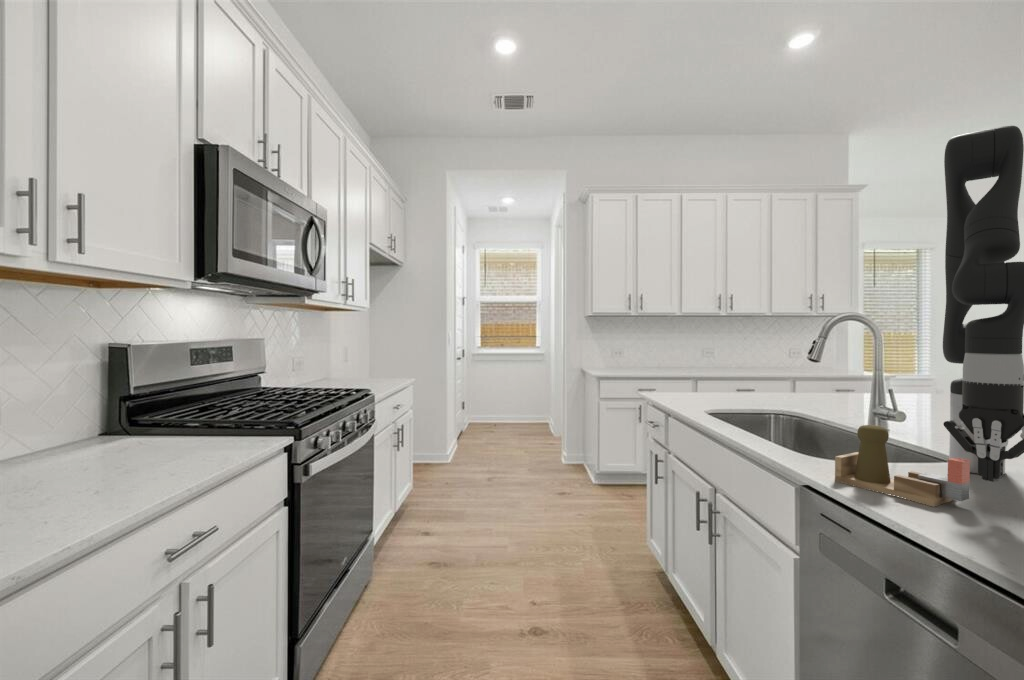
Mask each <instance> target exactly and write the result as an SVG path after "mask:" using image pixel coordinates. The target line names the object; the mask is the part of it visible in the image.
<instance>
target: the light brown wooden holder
mask: <svg viewBox="0 0 1024 680" xmlns="http://www.w3.org/2000/svg"><path fill="white" fill-rule="evenodd" d="M858 453H859V451H855V452H851V453H850V452H849V453H847V454H846V453H845V454H841V455H835V456H834V458H835V460H834V481H835V482H837V483H841V484H845V485H849V486H852V485H854V487H856V486H858V487H857V488H860V487H861V489H864V488H866V489H865V490H868V489H870V490H869V491H871V490H874V491H873V492H875V491H878V492H877V493H879V492H883V493H887V494H891V495H895V496H899V497H903V498H906V499H909V500H908V501H910V500H912V501H911V502H913V501H916V502H915V503H917V502H919V503H918V504H921V503H922V505H925V504H926V506H929V507H937V506H940V505H943V504H945V503H949V502H952V501H954V500H953V499H949V498H945V497H941V496H939V493H940V484H937V483H932V482H928V481H924V480H919V479H918V475H919V474H923V473H922V472H919V471H915V470H914V471H913V470H911V471H908V474H907V476H905V475H901V474H896V475H893V478H891V477H890V481H891V482H890V483H887V484H878V483H870V482H865V481H862V480H858V479H856V478H855V477H854V476H855V470H856V465H857V459H858ZM883 493H882V494H883ZM887 494H886V495H887ZM891 495H890V496H891ZM906 499H905V500H906Z"/></svg>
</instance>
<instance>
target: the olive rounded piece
mask: <svg viewBox="0 0 1024 680" xmlns="http://www.w3.org/2000/svg"><path fill="white" fill-rule="evenodd" d="M889 435H890V434H889V431H888V429H886V428H885V427H883V426H879V425H875V424H865V425H864V424H863V425H861V426H859V427H858V429H857V438H858V439H859V441H860V442H859V449H858V452H859V453H858V459H857V465H856V470H855V476H854V477H855V478H856V479H858V480H862V481H865V482H870V483H878V484H887V483H890V482H891V481H890V478H891V476H890V475H891V474H890V468H889V461H888V455H887V447H886V446H887V445H886V443H887V442H888V441H889V438H890V437H889Z"/></svg>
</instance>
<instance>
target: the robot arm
mask: <svg viewBox="0 0 1024 680" xmlns="http://www.w3.org/2000/svg"><path fill="white" fill-rule="evenodd" d="M1023 136H1024V135H1023V133H1022V131H1021V129H1020V128H1019V127H1018V126H1016V125H1005V126H997V127H994V128H988V129H987V128H986V129H983V130H977V131H973V132H968V133H963V134H959V135H955V136H952V137H951V138H950V139H949V140H948V141H947V143H946V146H945V149H944V158H943V159H944V161H943V162H944V165H943V166H944V180H945V181H944V182H945V195H946V196H945V199H946V233H945V234H946V237H945V256H944V259H945V261H944V264H945V266H944V269H945V273H944V274H945V296H946V297H945V310H944V311H945V312H944V323H943V333H942V353H943V357H944V359H945V360H946V361H947V362H949V363H952V364H961V365H962V377H961V378H958V379H953V380H952V381H951V382H950V386H949V387H950V388H949V389H950V395H949V396H950V397H949V399H950V401H949V420H947V421H944V422H943V426H944V428H945V429H946V430H947V431H948V432H949V451H948V456H949V458H948V459H952V458H962V459H967V460H970V474H971V473H972V474H978V476H981V479H982V480H983V481H987V482H993V483H995V482H997V481H999V480H1000V479H1002V478H1003V476H1004V475H1005V474H1006V460H1012V459H1016V458H1019V457H1020V456H1021V455H1023V454H1024V358H1023V336H1024V261H1010V262H1007V261H1009V260H1012V259H1013V258H1014V257H1015V256H1017V255H1018V254H1019V251H1020V248H1021V241H1020V239H1021V238H1020V228H1019V227H1020V226H1019V218H1018V217H1019V216H1018V213H1019V212H1018V210H1019V201H1020V195H1021V189H1022V188H1021V187H1022V178H1023V176H1022V175H1023V167H1024V166H1023V165H1024V137H1023ZM996 177H998V178H997V180H996V181H995V182H994V184H993V185H992V186H991V188H990V189H989V190H988V191H987V192H986V193H985V195H983V196H982V197H981V198H980V199H979V200H978V202H977V203H975V202H974V200H973V198H972V197H971V196H970V194H969V191H968V190H967V187H966V183H967V182H972V181H978V180H984V179H985V180H986V179H990V178H996ZM979 305H980V306H982V305H1007V306H1006V309H1005V310H1004V312H1002V313H1000V314H998V315H995V316H989V317H983V318H978V319H973V320H970V321H969V322H967V323H964V320H965V318H966V315H967V314H968V313H969V312H970V310H971V309H972V307H973V306H979ZM1020 431H1021V433H1020V435H1019V436H1020V438H1021V440H1020V441H1018V442H1017V443H1016V444H1014V445H1013V446H1012V447H1011V448H1008V450H1007V447H1008V446H1009V445H1008V444H1009V440H1010V439H1012V438H1013V437H1014V436H1015V435H1017V434H1018V433H1019V432H1020Z"/></svg>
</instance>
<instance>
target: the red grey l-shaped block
mask: <svg viewBox="0 0 1024 680" xmlns="http://www.w3.org/2000/svg"><path fill="white" fill-rule="evenodd" d="M970 476H971V472H970V460H967V459H962V458H952V459H949V458H948V459H947V476H943V475H937V474H934V473H933V474H932V473H928V472H924V473H923V474H919V475H918V479H919V480H924V481H928V482H932V483H937V484H940V493H939V496H941V497H945V498H949V499H953V500H952V501H954V500H955V501H959V502H964V501H967V500H970V487H971V486H970V484H971V483H970V481H971V479H970Z"/></svg>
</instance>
